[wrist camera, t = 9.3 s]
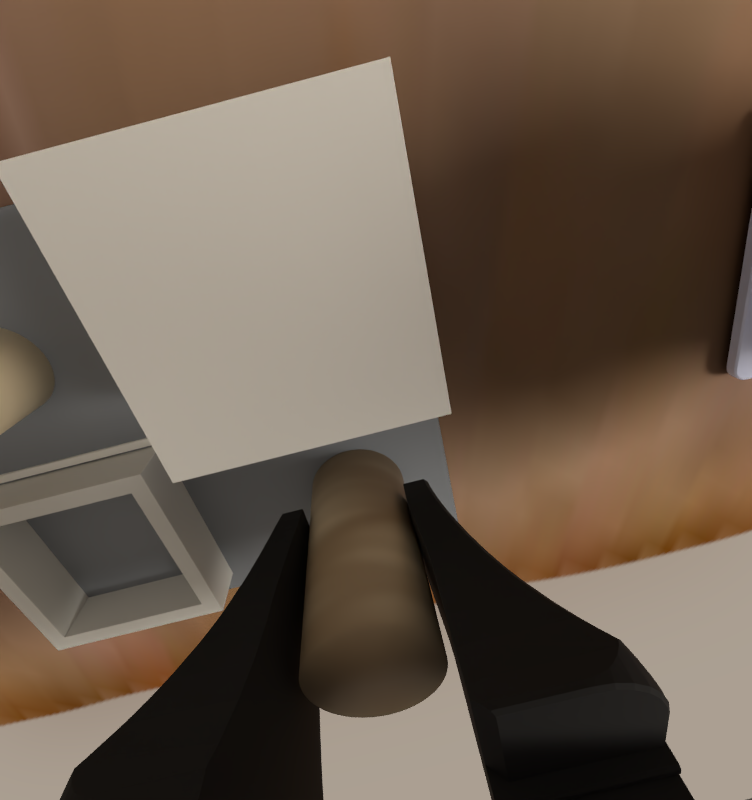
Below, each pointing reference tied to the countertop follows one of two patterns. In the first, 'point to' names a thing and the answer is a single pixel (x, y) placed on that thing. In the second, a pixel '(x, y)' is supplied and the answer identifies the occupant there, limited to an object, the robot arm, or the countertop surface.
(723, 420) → the countertop surface
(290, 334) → the cover
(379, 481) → the loose pin
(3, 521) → the board
